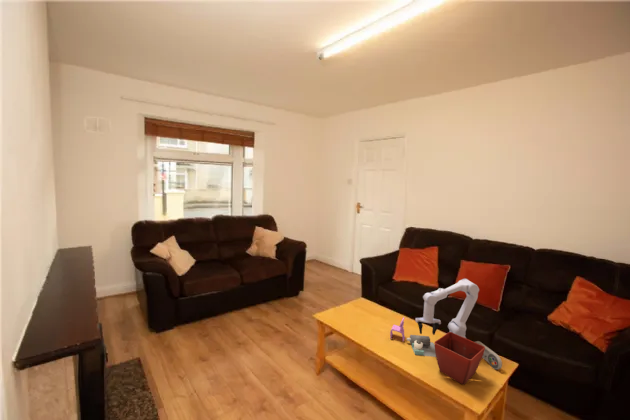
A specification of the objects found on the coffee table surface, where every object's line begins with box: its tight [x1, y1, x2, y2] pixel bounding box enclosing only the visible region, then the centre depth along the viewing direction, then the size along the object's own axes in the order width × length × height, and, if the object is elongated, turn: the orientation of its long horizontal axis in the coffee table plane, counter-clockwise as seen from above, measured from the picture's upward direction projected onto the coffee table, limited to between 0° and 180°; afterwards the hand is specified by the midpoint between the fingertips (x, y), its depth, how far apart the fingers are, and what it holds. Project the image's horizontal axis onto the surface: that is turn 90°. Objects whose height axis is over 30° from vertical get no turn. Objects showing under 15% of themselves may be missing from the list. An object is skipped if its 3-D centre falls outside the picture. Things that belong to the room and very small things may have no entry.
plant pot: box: [433, 332, 485, 385], centre depth 152 cm, size 19×19×17 cm
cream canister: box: [413, 340, 423, 352], centre depth 169 cm, size 5×5×6 cm
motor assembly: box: [406, 334, 436, 358], centre depth 173 cm, size 17×15×6 cm
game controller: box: [474, 340, 503, 370], centre depth 164 cm, size 20×2×8 cm, turn 11°
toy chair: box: [389, 317, 406, 342], centre depth 183 cm, size 8×9×15 cm
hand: (426, 333), depth 173 cm, fingers open, 7 cm apart
